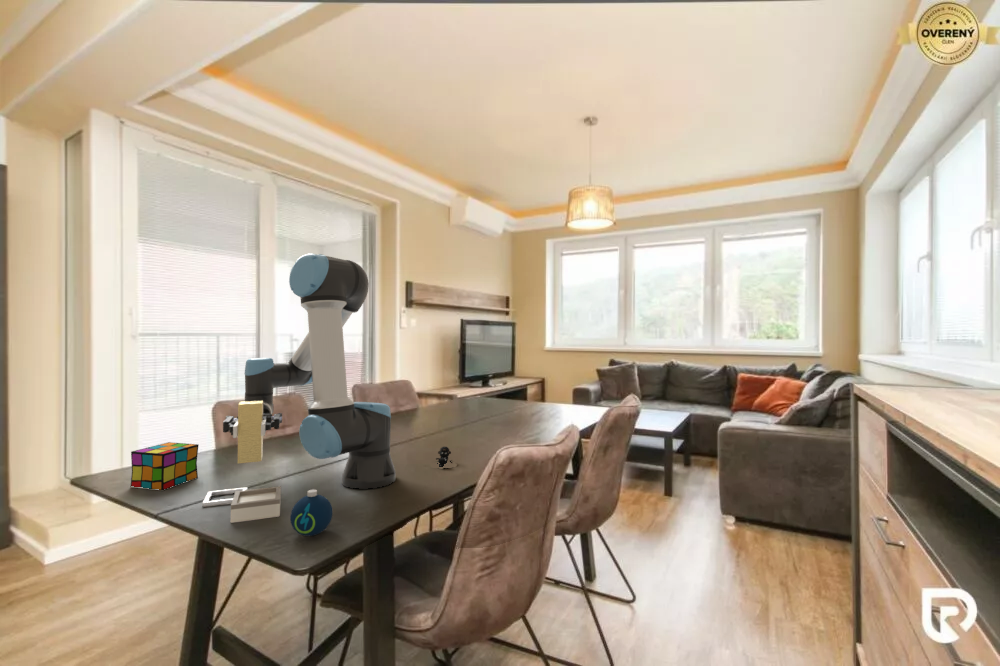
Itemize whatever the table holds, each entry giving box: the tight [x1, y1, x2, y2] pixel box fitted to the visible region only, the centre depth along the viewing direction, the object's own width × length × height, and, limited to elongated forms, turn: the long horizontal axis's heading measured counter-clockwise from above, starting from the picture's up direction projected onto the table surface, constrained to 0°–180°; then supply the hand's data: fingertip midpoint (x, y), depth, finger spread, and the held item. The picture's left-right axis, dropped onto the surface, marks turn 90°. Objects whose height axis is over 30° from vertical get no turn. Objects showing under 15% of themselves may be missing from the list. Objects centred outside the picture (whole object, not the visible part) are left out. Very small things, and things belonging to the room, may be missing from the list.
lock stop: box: [237, 401, 264, 464], centre depth 112 cm, size 5×5×14 cm
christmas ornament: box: [289, 489, 334, 537], centre depth 98 cm, size 8×8×10 cm
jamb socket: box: [201, 486, 248, 508], centre depth 118 cm, size 9×9×1 cm
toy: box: [130, 441, 199, 491], centre depth 130 cm, size 11×11×10 cm
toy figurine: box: [435, 446, 453, 467], centre depth 152 cm, size 10×10×6 cm
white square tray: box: [230, 485, 282, 524], centre depth 110 cm, size 10×10×4 cm
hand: (249, 431), depth 107 cm, fingers closed on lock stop, 5 cm apart
